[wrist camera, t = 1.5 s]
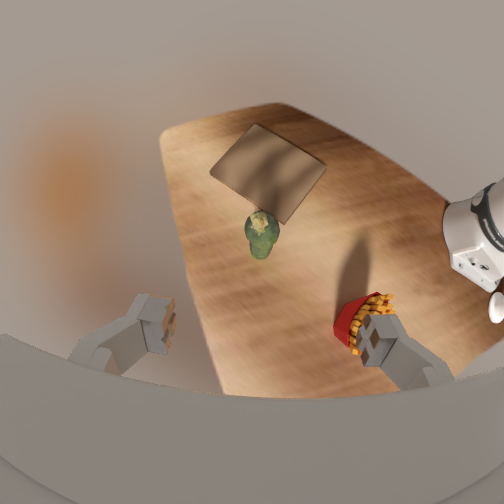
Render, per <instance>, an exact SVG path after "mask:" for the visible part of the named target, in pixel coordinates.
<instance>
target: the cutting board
mask: <svg viewBox="0 0 504 504" xmlns="http://www.w3.org/2000/svg"><path fill="white" fill-rule="evenodd" d="M326 168H327V166H325V165H324V164H322V163H321V162H319V161H318V160H316V159H314V158H313V157H311V156H310V155H308V154H307V153H305V152H303V151H302V150H300V149H298V148H297V147H295V146H293V145H292V144H290V143H288V142H287V141H285V140H283V139H281V138H280V137H278V136H276V135H274V134H273V133H271V132H269V131H267V130H266V129H264V128H262V127H260V126H258V125H256V124H254V125H253V126H252V127H251V128H250V129H249V130H248V131H247V132H246V133H245V134H244V135H243V136H242V137H241V138H240V139H239V140H238V141H237V142H236V143H235V144H234V145H233V146H232V147H231V149H230V150H229V151H228V152H227V153H226V154H225V155H224V156H223V157H222V158H221V159H220V160H219V161H218V162H217V164H216V165H215V166H214V167H213V168H212V169H211V170H210V171H209V172H210V175H211V176H213V177H214V178H216V179H217V180H219V181H220V182H222V183H223V184H225V185H226V186H228V187H229V188H231V189H232V190H234V191H235V192H237V193H238V194H240V195H241V196H243V197H244V198H246V199H247V200H249V201H250V202H252V203H253V204H254V205H256V206H257V207H259V208H260V209H262V210H263V211H267V212H269V213H271V214H272V215H274V216H275V218H276V219H277V221H279V222H280V223H282V224H283V225H285V223H286V222H287V221H288V219H289V218H290V217H291V216H292V214H293V213H294V212H295V210H296V209H297V208H298V206H299V205H300V204H301V202H302V201H303V200H304V198H305V197H306V196H307V194H308V193H309V192H310V191H311V189H312V188H313V187H314V185H315V184H316V183H317V181H318V180H319V179H320V177H321V176H322V175H323V173H324V172H325V171H326Z"/></svg>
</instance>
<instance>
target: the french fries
mask: <svg viewBox="0 0 504 504" xmlns="http://www.w3.org/2000/svg"><path fill="white" fill-rule="evenodd" d="M393 296H394V295H391V294H386V295H381V294H380V293H378V292H375V293H373V294H370V295H368V296H365V297H363V298H360V299H357V300H355V301H352V302H350V303H348V304H346V305H345V307H344V308H343V310H342V312H341V313H340V315H339V317H338V319H337V320H336V322H335V324H334V326H333V328H334V335H335V336H336V337H337V338H338V339H339V340H340V341H341V342H343V343H344V344H345V345H346V346H347V347H349V348H350V349H351V352H352V353H353V354H356V355H357V354H358V353H359V354H360V355H361V353H362V352H361V351H360V350H359V349H358V348H357V345H356V334H357V332H358V329H359V328H360V327H361V326H363V322H362V320H363V318H364V316H365V315H366V314H394V313H395V311H394V310H392V308H393V305H392V304H390V303H388V301H389V300H392V298H393Z"/></svg>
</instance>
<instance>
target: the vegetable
mask: <svg viewBox="0 0 504 504" xmlns="http://www.w3.org/2000/svg"><path fill="white" fill-rule="evenodd" d="M279 233H280V228H279V224H278V221H277V219H276V218H275V216H274V215H272V214H271V213H269V212H267V211H257V212H255V213H253V214H251V215H250V216H249V217H248V218H247V221H246V223H245V234H246V238H247V239H248V240H249V241H250V251H251V255H252V256H253V258H254V259H261V260H263V259H266V258H267V257H268V256H269V254H270V251H271V249H272V247H273V244H274V243H276V241H277V239H278V237H279Z"/></svg>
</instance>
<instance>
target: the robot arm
mask: <svg viewBox="0 0 504 504" xmlns="http://www.w3.org/2000/svg"><path fill="white" fill-rule="evenodd" d="M443 233H444V237H445V241H446V244H447V246H448V249H449V255H450V264H451V267H452V268H453V269H454V270H456V271H458V272H459V273H461V274H462V275H464V276H465V277H467V278H468V279H470V280H471V281H473V282H474V283H476V284H477V285H479V286H480V287H482V288H483V289H485V290H486V291H488V292H493V291H494V290H495V289H496V288H497V286H498V285H499V283H500V280H501V278H502V277H504V178H503V179H501V180H500V181H499V182H497V183H492V184H490V185H489V186H487V187H486V188H485V189H483V190H481V191H480V192H478V193H477V194H476V195H475V196H474V197H472V198H470V199H467V200H464V201H460V202H454V203H452V204H450V205H449V206H448V207H447V209H446V211H445V213H444V217H443ZM174 307H175V302H174V299H173V298H169V297H163V296H157V295H150V294H144V293H139V294H138V295H137V296H136V298H135V300H134V301H133V303H132V305H131V307H130V309H129V310H128V312H127V314H126V316H125V317H120V318H118V319H116V320H115V321H113V322H111V323H109V324H107V325H105V326H104V327H102V328H100V329H98V330H96V331H95V332H93V333H91V334H89V335H87V336H85V337H84V338H82V339H80V340H79V341H78V343H77V344H76V346H75V348H74V349H73V351H72V353H71V354H70V356H69V358H68V360H67V359H64V358H61V357H59V356H56V355H53V354H51V353H48V352H46V351H43V350H41V349H38V348H36V347H34V346H31V345H29V344H26V343H24V342H22V341H20V340H18V339H16V338H14V337H12V336H10V335H7V334H1V335H0V504H504V368H503V367H499V368H496V369H493V370H490V371H487V372H484V373H480V374H477V375H474V376H470V377H466V378H463V379H459V380H455V379H454V377H453V375H452V373H451V371H450V369H449V367H448V365H447V363H446V362H444V361H443V360H442V359H440V358H439V357H438V356H436V355H435V354H433V353H432V352H431V351H429V350H428V349H427V348H425V347H424V346H423V345H421V344H420V343H418V342H417V341H416V340H414V339H413V338H409V336H408V334H407V333H406V331H405V329H404V327H403V325H402V323H401V322H400V320H399V318H398V316H397V315H396V314H366V315H365V316H364V318H363V320H362V322H363V326H361V327H360V328H359V329H358V332H357V334H356V345H357V348H358V349H359V350H360V351H361V352H362V353H361V355H360V357H361V360H362V363H363V366H364V367H380V368H381V369H382V370H383V371H384V372H385V373H386V375H387V376H388V377H389V378H390V379H391V380H392V381H393V382H394V383H395V384H396V385H397V386H398V387H399V388H400V389H401V390H402V391H398V392H391V393H383V394H375V395H365V396H353V397H337V398H263V397H247V396H235V395H225V394H216V393H207V392H199V391H193V390H186V389H180V388H174V387H169V386H164V385H158V384H154V383H149V382H144V381H140V380H135V379H131V378H127V377H123V376H121V375H122V374H123V373H124V372H125V371H127V370H128V369H129V368H130V367H131V366H133V365H134V364H135V363H136V362H137V361H139V360H140V359H141V358H142V357H143V356H145V355H146V354H147V352H151V353H157V354H164V355H167V353H168V350H169V347H170V344H171V341H170V337H172V336H173V335H174V332H175V326H176V314H175V313H174V312H173V310H174Z"/></svg>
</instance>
